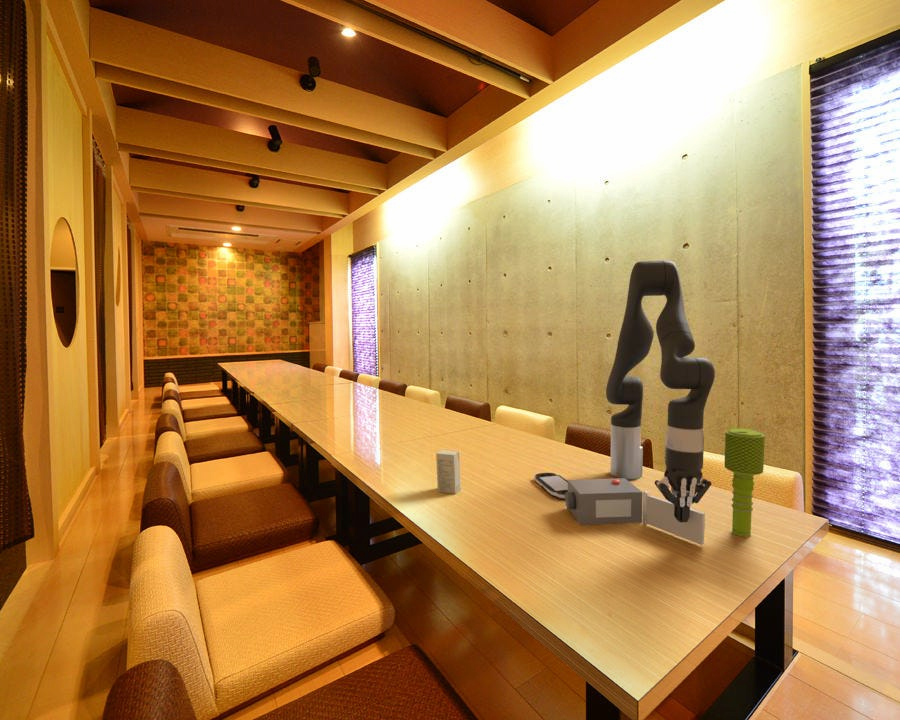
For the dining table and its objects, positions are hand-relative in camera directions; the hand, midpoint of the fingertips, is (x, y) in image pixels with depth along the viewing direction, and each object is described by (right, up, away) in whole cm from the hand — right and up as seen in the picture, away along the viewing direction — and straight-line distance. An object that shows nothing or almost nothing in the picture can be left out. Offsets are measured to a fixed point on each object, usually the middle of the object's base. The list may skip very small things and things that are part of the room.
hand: (681, 520), depth 97 cm
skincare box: (-53, -4, +35) cm, 64 cm away
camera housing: (-12, -5, +16) cm, 21 cm away
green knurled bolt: (+17, -5, +5) cm, 19 cm away
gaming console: (-20, -4, +36) cm, 41 cm away
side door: (0, -5, +5) cm, 7 cm away
